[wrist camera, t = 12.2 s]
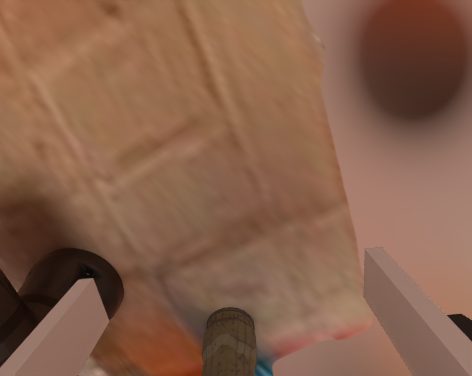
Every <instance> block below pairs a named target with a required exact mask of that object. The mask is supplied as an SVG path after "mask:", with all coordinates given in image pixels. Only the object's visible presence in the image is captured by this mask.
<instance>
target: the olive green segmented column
mask: <svg viewBox="0 0 472 376" xmlns="http://www.w3.org/2000/svg"><path fill="white" fill-rule="evenodd" d="M202 357H203V362H204V365H203V372H202V376H254V370H255V367H256V358H257V349H256V337H255V333H254V322H253V320H252V318H251V317H250V315H249V314H247V313H246V312H245V311H243V310H240V309H238V308H231V307H230V308H222V309H220V310H217V311H215V312H214V313H213V314H212V315H211V316H210V318H209V319H208V322H207V330H206V332H205V336H204V342H203V349H202Z"/></svg>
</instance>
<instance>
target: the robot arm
mask: <svg viewBox="0 0 472 376" xmlns="http://www.w3.org/2000/svg"><path fill="white" fill-rule="evenodd" d="M364 261H365V262H364V298H365V300H366V301H367V303H368V304H369V306H370V308H371V309H372V311H373V313H374V314H375V316H376V317H377V319H378V321H379V322H380V324H381V325H382V327H383V329H384V330H385V332H386V333H387V335H388V337H389V338H390V340H391V341H392V343H393V345H394V346H395V348H396V350H397V351H398V353H399V354H400V356H401V357H402V359H403V361H404V362H405V364H406V366H407V367H408V369H409V370H410V372H411V374H412V375H413V376H472V320H470V319H469V318H467V317H466V316H463V315H462V314H453V315H445V313H444V312H443V311H442V310H441V309H440V308H439V307H438V306H437V305H436V304H435V302H434V301H433V300H432V299H431V298H430V297H429V296H428V295H427V294H426V293H425V292H424V291H423V290H422V289H421V288H420V287H419V286H418V285H417V284H416V282H414V280H413V279H412V278H411V277H410V276H409V275H408V274H407V273H406V272H405V271H404V270H403V269H402V268H401V267H400V266H399V265H398V264H397V263H396V261H394V259H393V258H392V257H391V256H390V255H389V254H388V253H387V252H386V251H385V250H384V249H383V248H382V247H376V248H367V249H365V260H364ZM122 298H123V286H122V282H121V280H120V278H119V276H118V274H117V272H116V271H115V270H114V269H113V267H112V266H111V265H110V264H108V263H107V262H106V261H105V260H103V259H102V258H100V257H99V256H97V255H95V254H93V253H90V252H87V251H84V250H79V249H61V250H57V251H54V252H52V253H50V254H48V255H46V256H45V257H44V258H43V259H41V260H40V261H39V262H38V263H37V264H35V265H34V266H33V268H32V269H31V270H30V272H29V273H28V275H27V277H26V280H25V282H24V283H23V285H22V286H21V288H20V290H19V291H18V293H17V292H16V290H15V289H14V287H13V286H12V284H11V283H10V282H9V280H8V279H7V277H6V276H5V274H4V273H3V271H2V270H1V269H0V376H78V375H79V373H80V371H81V369H82V368H83V366H84V364H85V363H86V361H87V359H88V357H89V356H90V354H91V352H92V351H93V349H94V347H95V345H96V344H97V342H98V340H99V339H100V337H101V335H102V333H103V332H104V330H105V328H106V327H107V325H108V323H109V320H110V319H111V318H112V317H113V316H114V314H115V313H116V311H117V309H118V307H119V306H120V304H121V302H122Z"/></svg>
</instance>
